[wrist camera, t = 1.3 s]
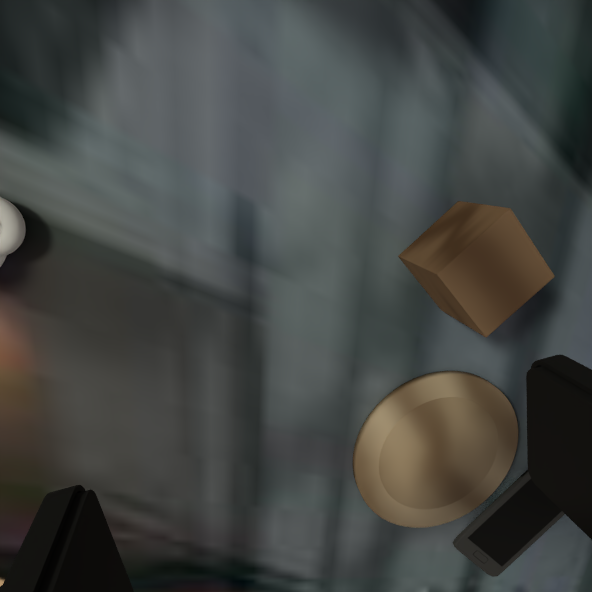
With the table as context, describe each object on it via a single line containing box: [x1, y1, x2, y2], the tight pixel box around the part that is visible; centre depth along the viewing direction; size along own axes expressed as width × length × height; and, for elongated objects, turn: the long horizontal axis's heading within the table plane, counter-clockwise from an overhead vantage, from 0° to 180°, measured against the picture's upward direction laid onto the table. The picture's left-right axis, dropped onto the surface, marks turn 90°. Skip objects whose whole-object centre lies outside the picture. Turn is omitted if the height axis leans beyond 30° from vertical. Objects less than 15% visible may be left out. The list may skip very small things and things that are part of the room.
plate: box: [353, 371, 518, 528], centre depth 39 cm, size 15×15×1 cm
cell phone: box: [453, 470, 565, 576], centre depth 43 cm, size 7×14×1 cm, turn 134°
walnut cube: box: [398, 201, 555, 337], centre depth 31 cm, size 6×6×6 cm
